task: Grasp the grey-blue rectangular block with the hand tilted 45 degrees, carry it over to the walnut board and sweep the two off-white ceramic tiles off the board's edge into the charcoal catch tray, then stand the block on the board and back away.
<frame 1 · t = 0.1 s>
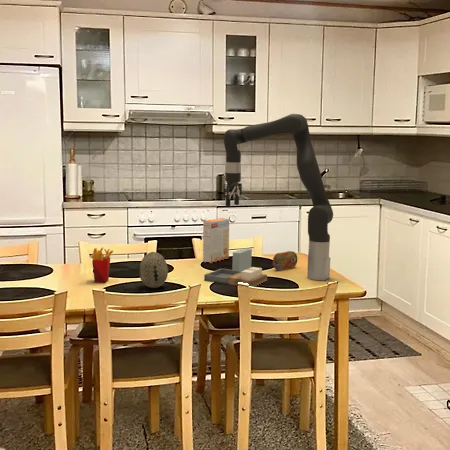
hand: (232, 205, 295), 29 cm above the table, tool pointing down, fingers open, 8 cm apart
board: (247, 282, 266), on the table
decorative egg: (153, 288, 255), on the table
tin: (284, 269, 294), on the table
tile a: (254, 275, 267), point 3 cm above the table, touching board
french fries: (102, 282, 262), on the table
grey-blue rectangular block: (241, 271, 287), on the table
tray: (223, 278, 272), on the table
cracker box: (215, 261, 309), on the table
tile b: (248, 278, 262), point 3 cm above the table, touching board
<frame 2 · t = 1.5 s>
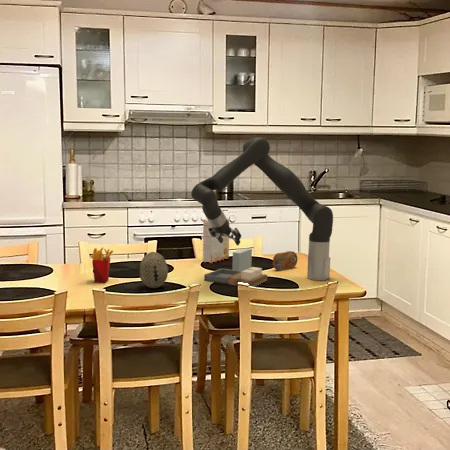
hand: (230, 242, 275), 15 cm above the table, tool tilted 45°, fingers open, 8 cm apart
nothing on the table moved.
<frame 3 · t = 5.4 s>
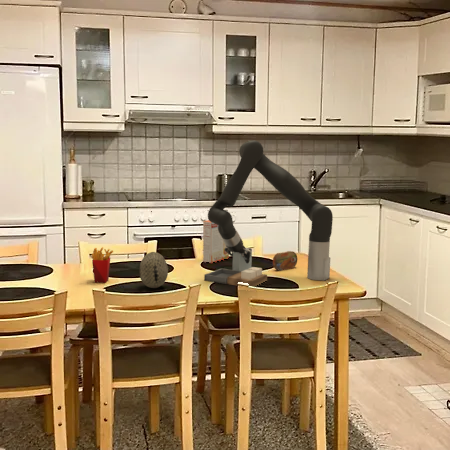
hand: (244, 261, 288), 5 cm above the table, tool tilted 45°, fingers closed on grey-blue rectangular block, 3 cm apart
grey-blue rectangular block: (241, 271, 287), on the table, touching gripper
everything else where it was.
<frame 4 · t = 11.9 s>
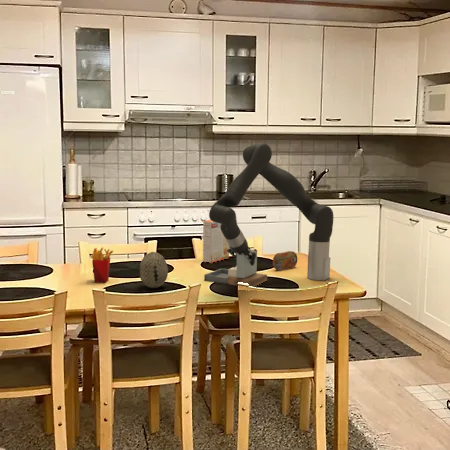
hand: (248, 263, 267), 8 cm above the table, tool tilted 45°, fingers closed on grey-blue rectangular block, 3 cm apart
tile a: (242, 273, 271), point 3 cm above the table, touching board
grey-blue rectangular block: (246, 274, 266), point 3 cm above the table, touching gripper
tile b: (235, 275, 266), point 3 cm above the table
everything else where it was.
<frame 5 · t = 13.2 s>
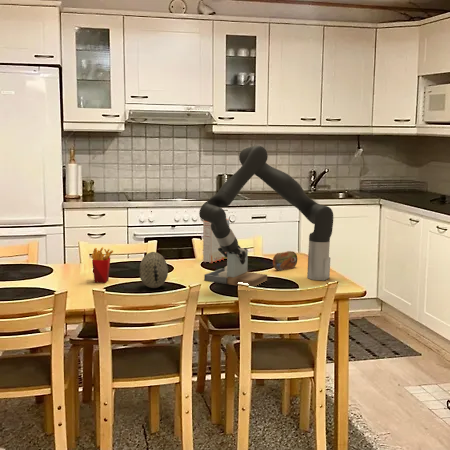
hand: (239, 261, 269), 8 cm above the table, tool tilted 45°, fingers closed on grey-blue rectangular block, 3 cm apart
tile a: (232, 271, 273), point 3 cm above the table, tilted 90°, touching tray
grey-blue rectangular block: (237, 273, 269), point 3 cm above the table, touching gripper
tile b: (226, 278, 268), point 1 cm above the table, tilted 17°, touching tray
everything else where it was.
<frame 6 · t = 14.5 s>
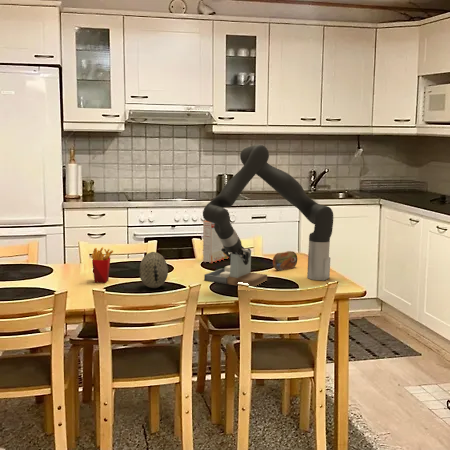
hand: (242, 262, 269), 8 cm above the table, tool tilted 45°, fingers closed on grey-blue rectangular block, 3 cm apart
grey-blue rectangular block: (240, 274, 268), point 3 cm above the table, touching gripper
tile b: (226, 279, 268), point 1 cm above the table, touching tray
everything else where it was.
when the fingers open (8 cm above the table, at t = 15.2 s): grey-blue rectangular block stays where it is, resting on board.
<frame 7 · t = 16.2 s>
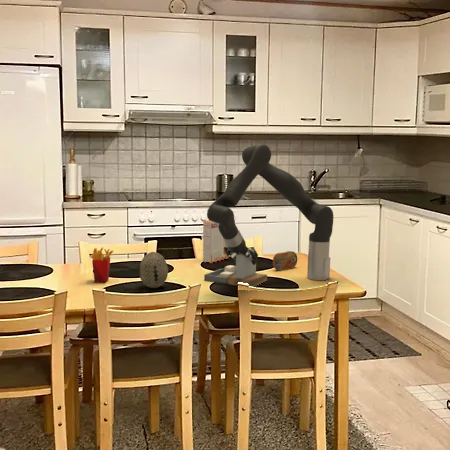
hand: (246, 261, 266), 9 cm above the table, tool tilted 45°, fingers open, 8 cm apart
grey-blue rectangular block: (245, 275, 267), point 3 cm above the table, touching board
everything else where it was.
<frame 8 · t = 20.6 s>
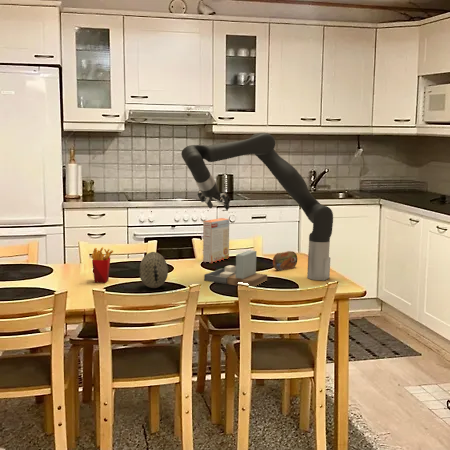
hand: (219, 207, 275), 31 cm above the table, tool tilted 45°, fingers open, 8 cm apart
nothing on the table moved.
at the end: tile a inside the target area on the tray (4.4 cm from its centre), point 2.8 cm above the tray's base; tile b inside the target area on the tray (4.2 cm from its centre), point 0.6 cm above the tray's base; the gripper is holding nothing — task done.
